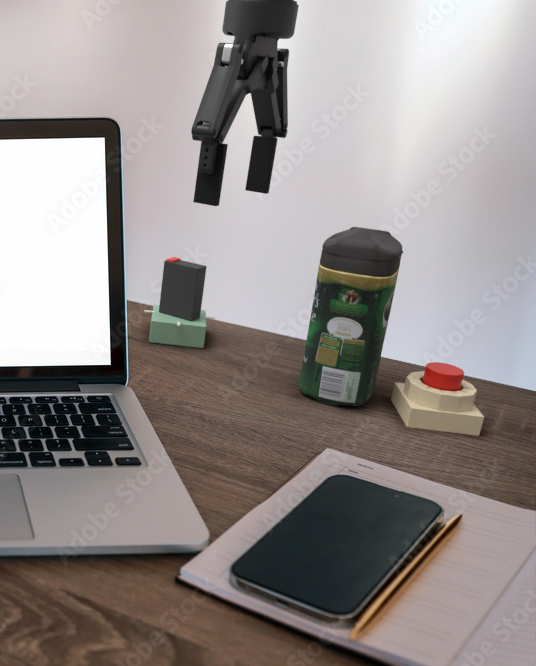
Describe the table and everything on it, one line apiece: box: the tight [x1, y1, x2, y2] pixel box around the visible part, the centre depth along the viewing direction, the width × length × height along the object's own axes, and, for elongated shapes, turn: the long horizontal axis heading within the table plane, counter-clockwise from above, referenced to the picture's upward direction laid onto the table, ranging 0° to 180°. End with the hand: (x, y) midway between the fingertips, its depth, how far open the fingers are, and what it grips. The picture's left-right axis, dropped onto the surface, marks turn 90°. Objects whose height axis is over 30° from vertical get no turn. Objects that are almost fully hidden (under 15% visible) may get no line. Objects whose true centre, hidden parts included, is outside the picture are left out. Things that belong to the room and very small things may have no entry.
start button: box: [422, 361, 465, 392], centre depth 81 cm, size 4×4×2 cm
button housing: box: [390, 370, 485, 437], centre depth 82 cm, size 7×7×4 cm
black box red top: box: [158, 256, 207, 321], centre depth 101 cm, size 5×2×7 cm, turn 49°
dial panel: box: [143, 304, 216, 349], centre depth 102 cm, size 9×9×3 cm
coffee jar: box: [298, 226, 404, 407], centre depth 85 cm, size 10×8×19 cm
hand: (232, 197), depth 89 cm, fingers open, 13 cm apart
